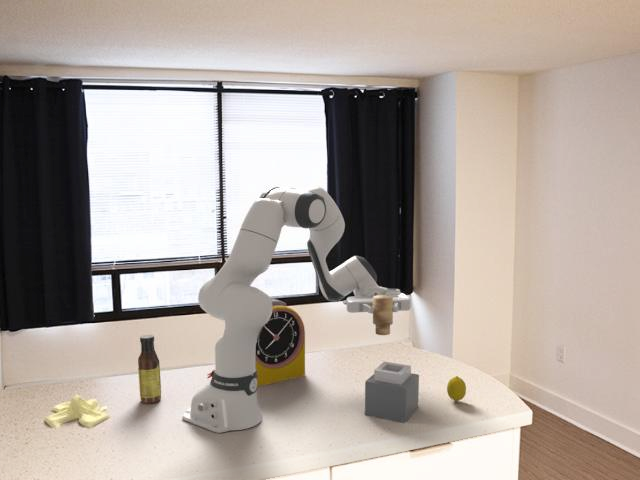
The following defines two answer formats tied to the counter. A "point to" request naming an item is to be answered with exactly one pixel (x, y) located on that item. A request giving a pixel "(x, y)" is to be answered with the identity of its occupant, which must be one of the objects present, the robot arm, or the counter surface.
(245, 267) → the robot arm
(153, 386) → the sauce bottle
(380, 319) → the stopper
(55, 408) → the pale yellow lumpy piece
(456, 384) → the lemon
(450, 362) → the counter surface
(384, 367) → the grey box with opening
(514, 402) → the counter surface
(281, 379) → the alarm clock
